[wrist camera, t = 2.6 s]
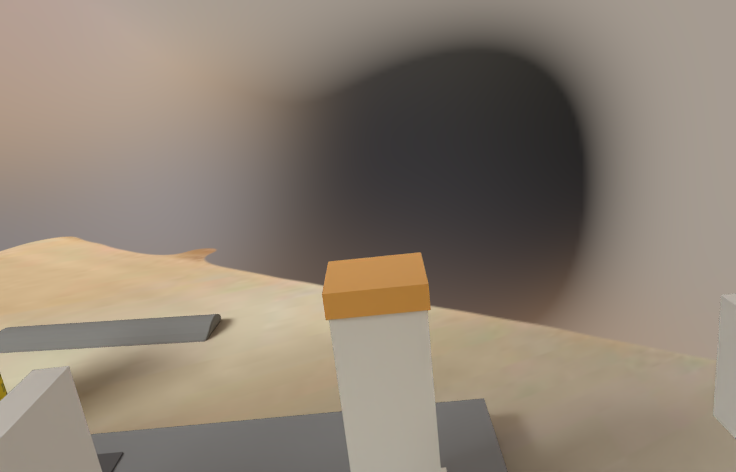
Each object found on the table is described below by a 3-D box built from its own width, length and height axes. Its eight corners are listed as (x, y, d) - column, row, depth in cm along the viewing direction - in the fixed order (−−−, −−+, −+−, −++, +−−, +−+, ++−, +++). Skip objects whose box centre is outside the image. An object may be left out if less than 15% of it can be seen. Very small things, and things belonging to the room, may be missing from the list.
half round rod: (209, 348, 48) (205, 328, 47) (-10, 360, 50) (-16, 341, 49) (226, 324, 52) (222, 305, 51) (22, 336, 54) (17, 319, 53)
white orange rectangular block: (459, 542, 23) (439, 287, 20) (348, 551, 23) (311, 299, 20) (446, 472, 27) (428, 248, 24) (351, 480, 27) (320, 259, 24)
